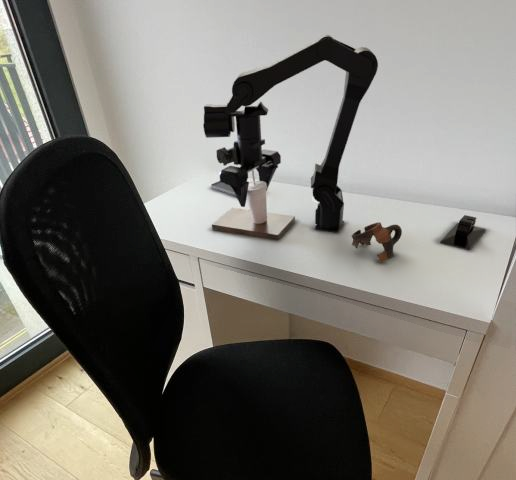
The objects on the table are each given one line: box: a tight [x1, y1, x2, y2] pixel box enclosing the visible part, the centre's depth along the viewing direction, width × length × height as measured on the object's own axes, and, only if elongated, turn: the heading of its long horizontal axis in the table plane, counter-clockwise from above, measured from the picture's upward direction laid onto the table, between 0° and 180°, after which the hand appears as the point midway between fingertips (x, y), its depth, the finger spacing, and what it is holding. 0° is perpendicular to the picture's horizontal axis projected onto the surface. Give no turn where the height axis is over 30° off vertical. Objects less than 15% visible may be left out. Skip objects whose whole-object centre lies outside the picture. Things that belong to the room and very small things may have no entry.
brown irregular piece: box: [351, 222, 403, 264], centre depth 96 cm, size 12×10×8 cm
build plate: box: [439, 214, 487, 251], centre depth 100 cm, size 12×7×5 cm, turn 141°
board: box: [211, 207, 296, 241], centre depth 113 cm, size 20×12×2 cm, turn 65°
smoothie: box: [246, 170, 268, 224], centre depth 107 cm, size 6×6×14 cm
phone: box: [210, 180, 236, 197], centre depth 134 cm, size 8×1×16 cm
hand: (253, 200), depth 107 cm, fingers open, 9 cm apart
